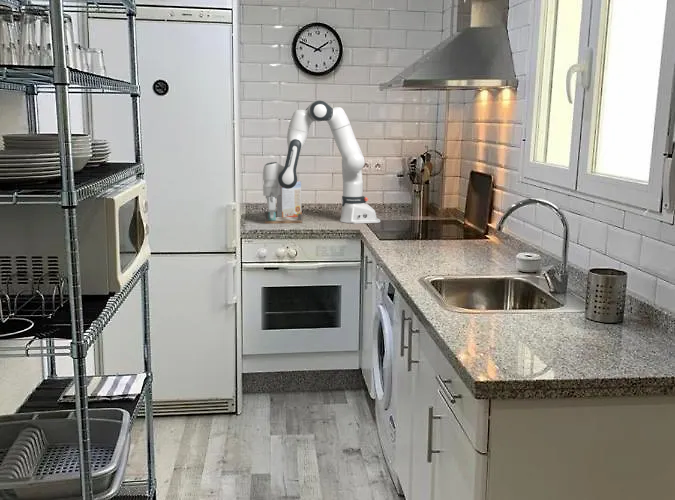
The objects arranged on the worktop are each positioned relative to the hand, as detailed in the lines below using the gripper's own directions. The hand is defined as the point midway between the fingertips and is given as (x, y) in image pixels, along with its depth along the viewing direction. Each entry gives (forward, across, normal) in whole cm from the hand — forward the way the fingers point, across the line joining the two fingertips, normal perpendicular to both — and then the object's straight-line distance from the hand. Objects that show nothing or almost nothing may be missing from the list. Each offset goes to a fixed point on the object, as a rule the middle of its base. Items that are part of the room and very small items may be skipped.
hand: (271, 217), depth 385 cm
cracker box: (+3, +19, -11) cm, 22 cm away
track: (+3, 0, -6) cm, 7 cm away
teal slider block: (+1, 0, 0) cm, 1 cm away
